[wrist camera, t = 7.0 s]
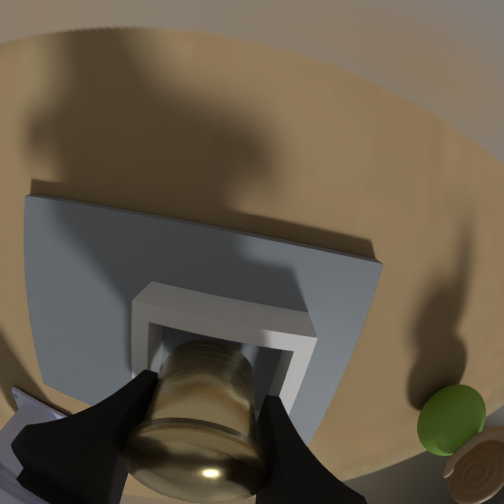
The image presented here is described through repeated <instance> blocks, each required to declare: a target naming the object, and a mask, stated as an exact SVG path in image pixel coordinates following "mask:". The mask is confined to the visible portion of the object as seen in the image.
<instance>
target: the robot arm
mask: <svg viewBox="0 0 504 504" xmlns="http://www.w3.org/2000/svg"><path fill="white" fill-rule="evenodd" d="M157 381H158V373H157V372H154V371H150V370H147V369H145V370H143V371H142V372H141V373H139V374H138V375H137V376H136V377H135V378H133V379H132V380H131V381H130V382H128V383H127V384H126V385H124V386H123V387H122V388H120V389H119V390H118V391H116V392H115V393H113V394H112V395H110V396H109V397H107V398H106V399H104V400H102V401H101V402H99V403H97V404H95V405H94V406H92V407H90V408H88V409H85V410H83V411H81V412H78V413H76V414H73V415H71V416H67V415H65V414H63V413H61V412H59V411H57V410H55V409H53V408H51V407H49V406H47V405H45V404H43V403H42V402H40V401H38V400H36V399H34V398H33V397H31V396H29V395H27V394H26V393H24V392H22V391H21V390H19V389H18V388H16V387H12V389H11V390H12V393H13V396H14V399H15V401H16V404H17V406H18V409H19V410H18V411H17V412H16V413H15V414H14V415H13V416H12V418H11V419H10V420H9V421H8V422H7V423H6V425H5V426H4V427H3V428H2V429H1V430H0V504H119V503H120V500H121V496H122V492H123V489H124V485H125V482H126V479H127V476H128V473H129V472H128V471H127V469H126V468H125V466H124V464H123V461H122V451H123V449H124V446H125V443H126V441H127V438H128V435H129V434H130V432H131V430H132V429H133V428H134V427H136V426H137V425H139V424H141V423H142V422H143V419H144V416H145V414H146V411H147V408H148V405H149V403H150V400H151V397H152V395H153V392H154V389H155V387H156V384H157ZM256 440H257V444H258V445H259V446H260V447H261V448H262V450H263V451H264V454H265V457H266V465H267V482H266V485H265V486H264V488H263V489H262V490H261V491H260V492H258V493H257V494H256V504H367V502H366V500H365V497H364V496H362V495H360V494H359V493H357V492H355V491H354V490H352V489H350V488H349V487H348V486H346V485H345V484H344V483H342V482H341V481H340V480H338V479H337V478H336V477H335V476H334V475H333V474H332V473H330V472H329V471H328V470H327V469H326V468H325V467H324V466H323V465H322V464H321V463H320V462H319V461H318V460H317V458H316V457H315V456H314V455H313V454H312V452H311V451H310V450H309V448H308V447H307V446H306V444H305V443H304V441H303V440H302V438H301V437H300V435H299V434H298V432H297V430H296V429H295V427H294V425H293V423H292V421H291V420H290V418H289V416H288V414H287V412H286V409H285V407H284V405H283V403H282V400H281V398H280V397H279V396H271V395H266V396H265V399H264V402H263V405H262V408H261V411H260V414H259V417H258V420H257V423H256Z"/></svg>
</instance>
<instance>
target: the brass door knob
mask: <svg viewBox="0 0 504 504" xmlns="http://www.w3.org/2000/svg"><path fill="white" fill-rule="evenodd" d="M122 461H123V464H124V466H125V468H126V469H127V471H128V472H129V473H130V474H131V475H132V476H133V477H134V478H135V479H136V480H137V481H139V482H140V483H141V484H143V485H144V486H146V487H148V488H150V489H151V490H153V491H155V492H158V493H160V494H162V495H165V496H168V497H171V498H174V499H178V500H182V501H186V502H192V503H201V504H224V503H232V502H237V501H240V500H244V499H247V498H249V497H251V496H253V495H255V494H257V493H258V492H260V491H261V490H262V489H263V488H264V486H265V485H266V482H267V465H266V457H265V454H264V451H263V450H262V448H261V447H260V446H259V445H258V444H257V440H256V420H255V399H254V377H253V370H252V367H251V364H250V363H249V361H248V360H247V358H246V357H245V356H244V355H243V354H242V353H241V352H240V351H239V350H237V349H236V348H234V347H232V346H230V345H228V344H226V343H223V342H220V341H216V340H210V339H196V340H191V341H187V342H184V343H182V344H180V345H178V346H177V347H175V348H174V349H173V350H172V351H171V352H170V353H169V354H168V356H167V358H166V361H165V363H164V366H163V368H162V371H161V373H160V376H159V379H158V381H157V384H156V387H155V389H154V392H153V395H152V397H151V400H150V403H149V405H148V408H147V411H146V414H145V416H144V419H143V422H142V423H141V424H139V425H137V426H136V427H134V428H133V429H132V430H131V432H130V434H129V435H128V438H127V441H126V443H125V446H124V449H123V451H122Z"/></svg>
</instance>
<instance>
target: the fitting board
mask: <svg viewBox="0 0 504 504" xmlns="http://www.w3.org/2000/svg"><path fill="white" fill-rule="evenodd" d="M24 262H25V279H26V290H27V300H28V308H29V315H30V322H31V328H32V334H33V340H34V345H35V350H36V354H37V359H38V363H39V367H40V371H41V375H42V379H43V383H44V384H46V385H48V386H50V387H52V388H54V389H56V390H58V391H60V392H62V393H64V394H66V395H69V396H71V397H73V398H75V399H77V400H80V401H82V402H84V403H87V404H89V405H92V406H94V405H95V404H97V403H99V402H101V401H102V400H104V399H106V398H107V397H109V396H110V395H112V394H113V393H115V392H116V391H118V390H119V389H120V388H122V387H123V386H124V385H126V384H127V383H128V382H130V381H131V380H132V379H133V378H135V377H136V376H137V375H138V374H139V373H141V372H142V371H143V370H145V369H147V370H150V371H154V372H157V373H158V379H159V376H160V373H161V371H162V368H163V366H164V363H165V361H166V358H167V356H168V354H169V353H170V352H171V351H172V350H173V349H174V348H175V347H177V346H178V345H180V344H182V343H184V342H187V341H191V340H196V339H210V340H216V341H220V342H223V343H226V344H228V345H230V346H232V347H234V348H236V349H237V350H239V351H240V352H241V353H242V354H243V355H244V356H245V357H246V358H247V360H248V361H249V363H250V364H251V367H252V370H253V377H254V399H255V420H256V423H257V420H258V417H259V414H260V411H261V408H262V405H263V402H264V399H265V396H266V395H271V396H279V397H280V398H281V400H282V403H283V405H284V407H285V409H286V412H287V414H288V416H289V418H290V420H291V421H292V423H293V425H294V427H295V429H296V430H297V432H298V434H299V435H300V437H301V438H302V440H303V441H304V443H305V444H306V446H307V447H308V445H309V443H310V441H311V440H312V438H313V436H314V434H315V432H316V430H317V428H318V426H319V424H320V423H321V421H322V419H323V417H324V415H325V413H326V411H327V409H328V407H329V405H330V402H331V400H332V398H333V396H334V394H335V392H336V390H337V388H338V385H339V383H340V381H341V379H342V376H343V374H344V372H345V370H346V367H347V365H348V362H349V360H350V358H351V355H352V353H353V350H354V348H355V345H356V343H357V340H358V338H359V335H360V332H361V330H362V327H363V324H364V322H365V319H366V316H367V313H368V310H369V308H370V305H371V302H372V299H373V296H374V293H375V290H376V287H377V283H378V280H379V277H380V274H381V270H382V267H383V264H382V263H381V262H380V261H378V260H377V259H374V258H370V257H365V256H361V255H356V254H351V253H347V252H342V251H337V250H333V249H328V248H323V247H319V246H314V245H309V244H304V243H299V242H295V241H290V240H285V239H280V238H275V237H270V236H265V235H260V234H255V233H250V232H245V231H240V230H235V229H230V228H225V227H220V226H215V225H209V224H204V223H199V222H194V221H188V220H183V219H178V218H172V217H167V216H161V215H156V214H150V213H145V212H139V211H134V210H128V209H122V208H117V207H111V206H105V205H99V204H93V203H88V202H82V201H76V200H70V199H63V198H57V197H51V196H45V195H38V194H32V195H25V211H24Z"/></svg>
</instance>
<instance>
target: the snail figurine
mask: <svg viewBox="0 0 504 504" xmlns="http://www.w3.org/2000/svg"><path fill="white" fill-rule="evenodd" d="M485 417H486V408H485V403H484V401H483V398H482V397H481V395H480V394H479V393H478V392H477V391H476V390H475V389H473V388H472V387H469V386H466V385H451V386H448V387H445V388H443V389H441V390H439V391H438V392H436V393H435V394H434V395H433V396H431V397H430V399H429V400H428V401H427V402H426V403H425V405H424V407H423V408H422V410H421V412H420V415H419V418H418V424H417V431H418V437H419V439H420V442H421V443H422V445H423V446H424V447H425V448H426V449H427V450H428V451H429V452H431V453H433V454H436V455H442V456H445V455H446V456H447V455H452V456H451V457H450V459H449V461H448V462H447V465H446V467H445V470H444V475H443V477H444V478H446V477H448V476H449V475H450V474H451V473H452V472H453V473H452V476H451V479H450V485H449V486H450V493H451V495H452V497H453V498H454V499H455V500H456V501H457V502H458V503H460V504H479V503H482V502H484V501H486V500H488V499H489V498H491V497H492V496H494V495H495V494H496V493H497V492H498V491H499V490H500V488H501V487H502V486H503V485H504V426H494V427H490V428H488V429H486V430H484V431H481V430H482V428H483V426H484V422H485Z"/></svg>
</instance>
